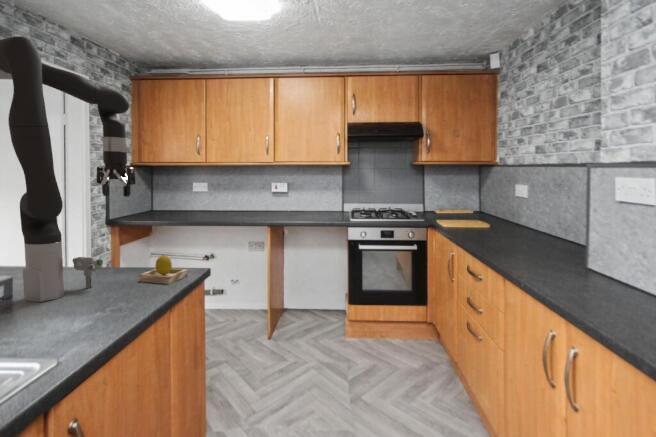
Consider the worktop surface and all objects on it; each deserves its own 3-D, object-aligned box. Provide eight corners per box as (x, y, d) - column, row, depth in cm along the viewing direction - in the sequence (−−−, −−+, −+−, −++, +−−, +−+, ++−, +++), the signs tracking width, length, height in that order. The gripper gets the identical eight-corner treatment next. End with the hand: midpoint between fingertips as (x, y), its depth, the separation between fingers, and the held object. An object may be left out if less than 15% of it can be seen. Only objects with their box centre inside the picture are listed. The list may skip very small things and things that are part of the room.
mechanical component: (98, 290, 131) (97, 260, 129) (72, 287, 133) (70, 258, 132) (105, 287, 133) (104, 258, 132) (79, 285, 135) (77, 256, 134)
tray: (168, 283, 140) (168, 277, 140) (139, 281, 142) (138, 274, 142) (188, 275, 152) (187, 269, 151) (160, 273, 154) (160, 267, 154)
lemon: (156, 278, 143) (155, 256, 142) (155, 275, 148) (154, 254, 147) (172, 277, 146) (172, 255, 145) (170, 273, 151) (170, 253, 150)
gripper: (89, 149, 139) (91, 196, 141) (124, 150, 136) (126, 197, 138) (105, 151, 147) (107, 195, 149) (139, 151, 144) (140, 196, 145)
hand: (116, 196), depth 143 cm, fingers open, 8 cm apart
